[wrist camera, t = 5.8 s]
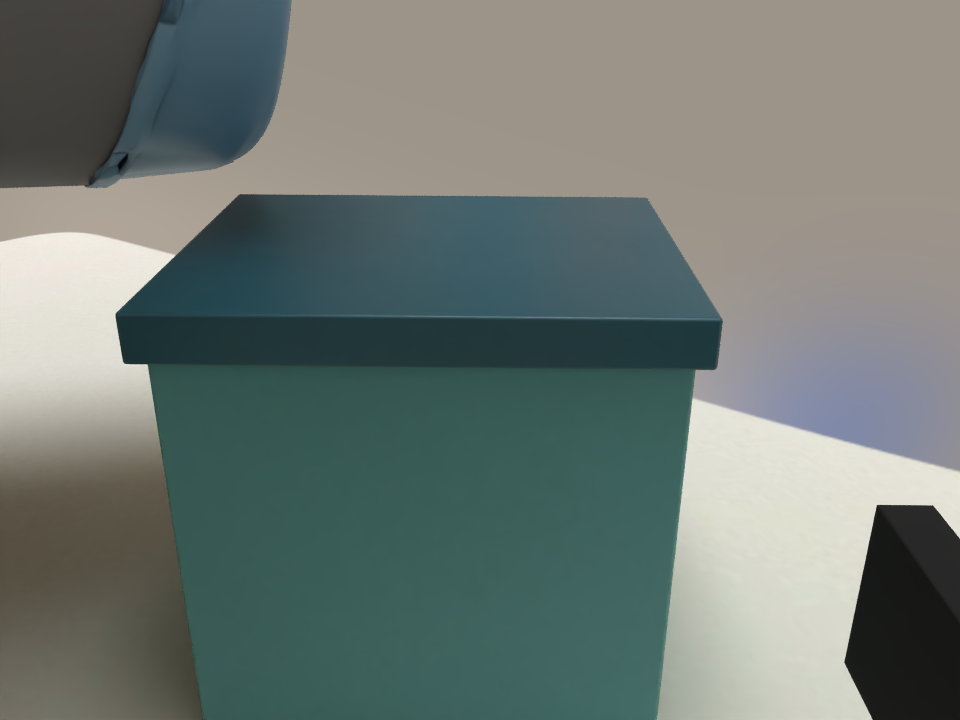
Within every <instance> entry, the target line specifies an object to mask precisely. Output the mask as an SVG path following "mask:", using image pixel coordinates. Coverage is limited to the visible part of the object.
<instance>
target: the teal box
mask: <svg viewBox="0 0 960 720" xmlns="http://www.w3.org/2000/svg"><path fill="white" fill-rule="evenodd" d="M116 322H117V328H118V334H119V340H120V346H121V352H122V358H123V362H124V363H125V364H148V369H149V375H150V382H151V388H152V395H153V401H154V407H155V414H156V420H157V427H158V433H159V439H160V446H161V452H162V459H163V465H164V472H165V478H166V484H167V491H168V497H169V504H170V510H171V516H172V523H173V529H174V536H175V542H176V548H177V555H178V561H179V568H180V574H181V581H182V587H183V593H184V600H185V606H186V613H187V619H188V625H189V632H190V638H191V645H192V651H193V657H194V664H195V670H196V677H197V683H198V689H199V696H200V702H201V709H202V715H203V720H657V713H658V703H659V694H660V685H661V676H662V667H663V658H664V649H665V640H666V631H667V622H668V613H669V604H670V595H671V586H672V577H673V568H674V559H675V550H676V541H677V532H678V522H679V513H680V504H681V495H682V486H683V477H684V468H685V459H686V450H687V441H688V432H689V423H690V414H691V405H692V396H693V387H694V378H695V370H715V369H716V368H717V364H718V356H719V347H720V339H721V331H722V323H723V321H722V318H721V317H720V315H719V313H718V312H717V310H716V309H715V307H714V305H713V304H712V302H711V301H710V299H709V297H708V296H707V294H706V292H705V291H704V289H703V288H702V286H701V284H700V283H699V281H698V280H697V278H696V277H695V275H694V273H693V271H692V270H691V268H690V267H689V265H688V263H687V262H686V260H685V259H684V257H683V255H682V254H681V252H680V250H679V249H678V247H677V246H676V244H675V242H674V241H673V239H672V238H671V236H670V234H669V233H668V231H667V230H666V228H665V226H664V225H663V223H662V222H661V220H660V218H659V217H658V215H657V213H656V212H655V210H654V209H653V207H652V205H651V204H650V202H649V201H648V199H647V198H622V197H619V198H618V197H500V196H492V197H491V196H377V195H376V196H375V195H374V196H373V195H372V196H370V195H254V194H253V195H252V194H251V195H250V194H249V195H248V194H245V195H244V194H243V195H242V194H240V195H238V196H237V197H236V198H235V199H234V200H233V201H232V202H231V203H230V204H229V205H228V206H227V207H226V208H225V209H224V210H223V211H222V212H221V213H220V214H219V215H218V216H216V218H214V219H213V220H212V221H211V222H210V224H208V225H207V226H206V227H205V228H204V229H203V230H202V231H201V232H200V233H199V234H198V235H197V236H196V237H195V238H194V239H193V240H192V241H190V242H189V243H188V244H187V245H186V246H185V247H184V248H183V249H182V250H181V251H180V252H179V253H178V254H177V255H176V256H175V257H174V258H173V259H172V260H171V261H170V262H169V263H168V264H167V265H166V266H164V267H163V268H162V269H161V270H160V271H159V272H158V273H157V274H156V275H155V276H154V277H153V278H152V279H151V280H150V281H149V282H148V283H147V284H146V285H145V286H144V287H143V288H142V289H141V290H140V291H138V292H137V293H136V294H135V295H134V296H133V297H132V298H131V299H130V300H129V301H128V302H127V303H126V304H125V305H124V306H123V307H122V308H121V309H120V310H119V311H118V312H117V313H116Z"/></svg>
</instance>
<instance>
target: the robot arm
mask: <svg viewBox="0 0 960 720" xmlns="http://www.w3.org/2000/svg"><path fill="white" fill-rule="evenodd" d="M290 11H291V0H0V188H15V187H16V188H17V187H49V186H80V185H84V186H85V187H86V188H98V187H102V188H106V187H109V186H111V185H113V184H115V183H116V182H117V181H119V180H120V179H127V178H137V177H146V176H156V175H166V174H175V173H185V172H194V171H204V170H211V169H216V168H219V167H222V166H224V165H227V164H229V163H232V162H233V161H234V160H236V159H238V158H240V157H241V156H243V155H244V154H246V153H247V152H248V151H250V150H251V149H252V148H253V147H254V146H255V145H256V143H257V142H258V141H259V139H260V138H261V137H262V136H263V134H264V132H265V130H266V128H267V126H268V124H269V122H270V120H271V117H272V114H273V112H274V109H275V106H276V102H277V98H278V93H279V89H280V85H281V79H282V74H283V68H284V61H285V54H286V47H287V39H288V30H289V21H290ZM844 663H845V665H846V667H847V669H848V671H849V673H850V675H851V677H852V679H853V681H854V683H855V685H856V687H857V689H858V691H859V693H860V695H861V697H862V699H863V701H864V703H865V705H866V707H867V709H868V711H869V713H870V715H871V717H872V719H873V720H960V538H959V537H958V536H957V535H956V533H955V532H954V531H953V530H952V529H951V527H950V526H949V525H948V524H947V522H946V521H945V520H944V519H943V517H942V516H941V515H940V514H939V512H938V511H937V510H936V509H935V507H934V506H924V505H877V508H876V512H875V517H874V522H873V527H872V532H871V536H870V541H869V546H868V551H867V556H866V561H865V565H864V570H863V575H862V580H861V585H860V590H859V594H858V599H857V604H856V609H855V614H854V619H853V623H852V628H851V633H850V638H849V643H848V648H847V652H846V657H845V662H844Z"/></svg>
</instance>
